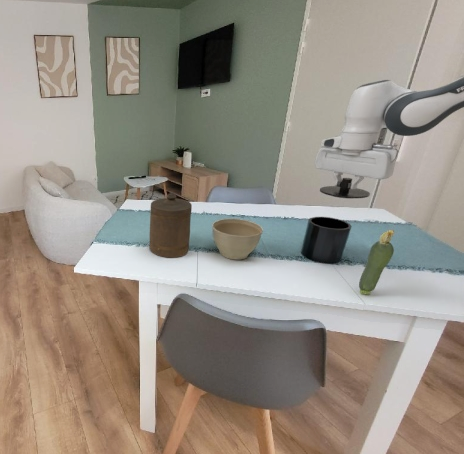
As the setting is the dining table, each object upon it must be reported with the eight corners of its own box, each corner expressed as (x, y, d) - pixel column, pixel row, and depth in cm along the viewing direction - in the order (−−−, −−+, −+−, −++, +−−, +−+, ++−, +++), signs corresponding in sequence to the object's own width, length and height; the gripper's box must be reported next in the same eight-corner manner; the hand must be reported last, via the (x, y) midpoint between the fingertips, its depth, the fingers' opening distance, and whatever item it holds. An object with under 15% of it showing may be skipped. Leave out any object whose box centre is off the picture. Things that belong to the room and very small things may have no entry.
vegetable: (354, 287, 84) (377, 223, 76) (374, 291, 82) (399, 226, 74) (357, 295, 81) (381, 230, 73) (377, 299, 79) (404, 233, 71)
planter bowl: (248, 244, 112) (252, 217, 108) (265, 265, 97) (271, 236, 93) (205, 244, 114) (208, 218, 110) (215, 265, 99) (219, 236, 95)
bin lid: (379, 196, 88) (384, 180, 86) (350, 202, 85) (355, 185, 83) (337, 187, 99) (341, 172, 97) (310, 192, 96) (313, 177, 94)
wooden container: (183, 239, 118) (187, 187, 110) (193, 257, 105) (198, 199, 96) (147, 240, 119) (147, 189, 110) (152, 258, 105) (153, 201, 97)
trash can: (349, 259, 98) (360, 226, 93) (324, 266, 95) (334, 232, 90) (316, 246, 108) (325, 214, 103) (293, 251, 105) (300, 219, 100)
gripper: (408, 144, 77) (391, 194, 83) (330, 138, 95) (321, 179, 101) (392, 146, 76) (376, 197, 81) (316, 140, 94) (307, 182, 99)
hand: (345, 187), depth 91 cm, fingers closed on bin lid, 2 cm apart
